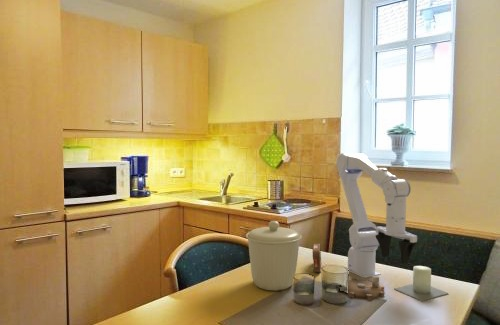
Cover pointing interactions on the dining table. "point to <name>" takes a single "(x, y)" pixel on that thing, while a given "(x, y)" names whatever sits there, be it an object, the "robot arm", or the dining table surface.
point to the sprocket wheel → (365, 288)
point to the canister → (273, 256)
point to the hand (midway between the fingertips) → (394, 259)
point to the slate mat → (419, 296)
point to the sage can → (422, 279)
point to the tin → (317, 258)
